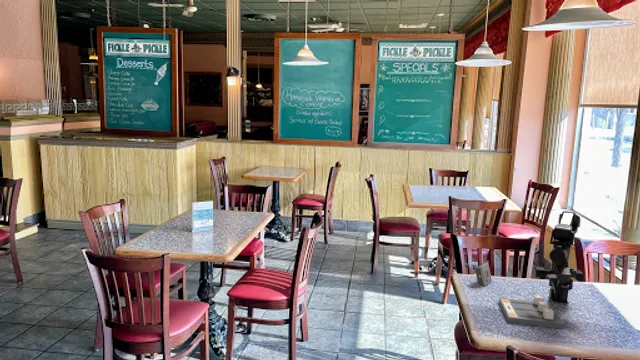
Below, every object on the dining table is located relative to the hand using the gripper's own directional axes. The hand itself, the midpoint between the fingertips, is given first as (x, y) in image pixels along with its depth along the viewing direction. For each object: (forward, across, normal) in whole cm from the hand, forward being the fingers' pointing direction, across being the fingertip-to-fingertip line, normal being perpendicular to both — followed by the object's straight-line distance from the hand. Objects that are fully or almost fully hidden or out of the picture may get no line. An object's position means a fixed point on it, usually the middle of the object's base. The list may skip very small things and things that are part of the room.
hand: (556, 293), depth 193 cm
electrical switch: (+8, -25, +27) cm, 37 cm away
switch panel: (+8, -12, -7) cm, 16 cm away
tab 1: (+5, -7, -7) cm, 11 cm away
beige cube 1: (+5, -7, 0) cm, 8 cm away
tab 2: (+5, -7, -14) cm, 16 cm away
